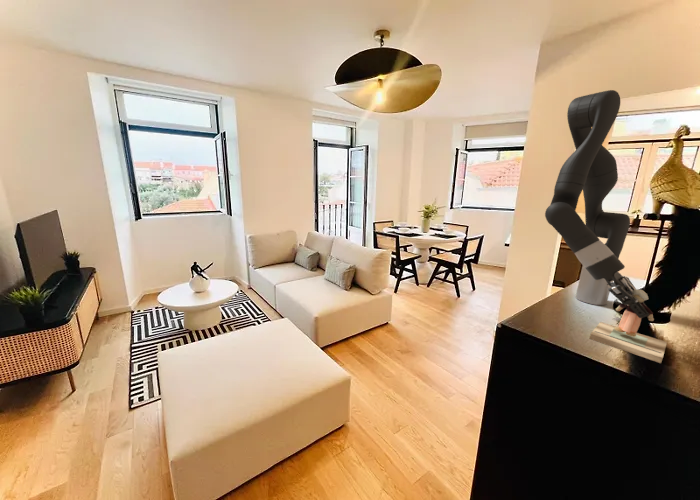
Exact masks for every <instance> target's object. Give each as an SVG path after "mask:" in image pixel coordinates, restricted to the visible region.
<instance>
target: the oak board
mask: <svg viewBox="0 0 700 500" xmlns="http://www.w3.org/2000/svg"><path fill="white" fill-rule="evenodd" d="M616 327H617V326H615V325H612V324H608V323H606V322H602V321H600V322H599V323H598V324H597V326H596V327H595V328H594V329H593V330H592V332H591V333H590V335H589V340H593V341H595V342H598V343H601V344H605V345H606V346H609V347H613V348H616V349H618V350H621V351H624V352H626V353H630V354H633V355H636V356H639V357H641V358H645V359H646V360H650V361H653V362H656V363H659V364H662V361H663V358H664V354H665V351H666V347H667V344H668V342H667V341H665V340H661V339H658V338H655V337H652V336H649V335H645V334H641V333H639V332H637V333H635V334H636V336H635V337H633V336H630V335H627V334H626V332H619V331H616V330H614V328H616Z"/></svg>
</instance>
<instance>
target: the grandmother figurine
mask: <svg viewBox="0 0 700 500" xmlns="http://www.w3.org/2000/svg"><path fill="white" fill-rule="evenodd" d="M633 291H634V293H633V295H634V296H635V297H636V299H638V301H639V302H640V304H641V305H642V306H643V307H644V308H645V309H646V310H647V312H648V313H649V316H647V319H648V321H650V322H654V320H655V318H654V315H653V314H654V312H653V311H652V310H651V309H650V308H649V307H648V306H647V305H646V304H645V301H647V300H649V296H648V293H646V292H645V291H644V290H643V289H638V288H636V290H633ZM642 302H644V304H645V305H646V306H645V305H644V304H642ZM624 308H626V309H625V310H624V312H623V314H622V316H621V319H620V321H619V323H618V326H616V328H614V330H616V331H619V332H626V334H627V335H630V336H633V337H635V336H636V334H635V333H638V330H639V328H640V326H641V322H642V318H639V317H638V316H637V315H636V313H635V312H634V311H633V310H632V309H631V308H630V306H627V305H624V304H623V303H622V302H620V304H619V305H618V306H617V307H616V308H615V311H616V312H620V311H621V310H623V309H624Z"/></svg>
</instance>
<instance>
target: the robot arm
mask: <svg viewBox="0 0 700 500" xmlns="http://www.w3.org/2000/svg"><path fill="white" fill-rule="evenodd" d="M620 107H621V97H620V94H619V92H618V91H617V90H612V89H610V90H605V91H599V92H595V93H591V94H590V93H589V94H586V95H581V96H578V97H575V98H574V99H572V100H571V102H570V103H569V104H568V107H567V112H566V113H567V114H566V116H567V124H568V128H569V131H570V135H571V137H572V141H573V144H574V148H575V150H574V152H572V153H571V155H570V156H569V157H568V158H567V159H566V160H565V162H564V163H563V164H562V166H561V168H560V170H559V173H558V175H557V179H556V182H555V184H554V189H553V196H552V199H551V201H550V205H549V206H548V207H547V208H546V209H545V213H544V217H545V219H546V222H547V223H548V224H549V226H551V227H553V228H554V230H556V232H557V233H558V234H559V235H560V237H562V239H563V241H564V242H565V244H566V245H567V247H568V248H569V249H570V250H571V252H572V253H573V254H574V255H575V256H576V259H577V260H578V261H579V263H581V265H582V267H581V272H580V274H579V280H578V285H577V289H576V292H575V293H576V294H575V299H577V300H579V301H580V302H584V303H586V304H590V305H595V306H596V305H597V306H606V305H607V304H608V300H609V296H610V294H612V295H613V296H614V298H616V299H617V300H619V301H620V303H623V304H624V305H627V306H630V308H631V309H632V310H633V311H634V312H635V313H636V315H637V316H638V317H639V318H641V319H644V318H646V317H647V318H648V316H649V313H648V312H647V310H646V309H645V308H644V307H643V306H642V305H641V304H640V302H639V301H638V299H636V297H635V296H634V295H633V293H634V291H633V290H636V289H637V288H636V287H635V286H634V284H633V282H631V280H630V278H629V277H628V276H625V275H622V274H621V273H620V271H622V270H624V269H625V268H626V267H625V264H623V262H622V261H621V260H620V259H619V257H620V255H621V252H623V251H622V250H623V248H624V244H625V241H626V239H627V236H628V232H629V229H630V225H631V219H630V216H629V215H628V214H627V213H619V212H610V211H609V212H608V211H604V209H603V201H604V200H605V199H606V197H607V196H608V194H610V193H611V192H612V190H614V189H613V188H614V187H616V184H617V182H618V181H619V179H618V178H619V177H618V174H619V173H618V165H617V161H616V158H615V156H614V155H613V154H612V153H611V152H610V151H609V150H608V149H607V148H606V147H605V146H604V145H603V144H604V143H605V140H606V138H607V136H608V134H609V132H610V130H611V129H612V126H613V125H614V124H615V123H614V122H615V121H616V120H617V119H616V118H617V117H618V114H619V111H620ZM582 193H583V194H582ZM581 194H582V195H583V200H584V213H585V214H584V215H585V217H584V218H585V222H584V221H583V219H582V217H581V216H580V215H579V214H578V212H577V211H576V209H577V206H578V203H579V198H580V196H581ZM600 238H601V239H606V242H602V241H601V240H600ZM642 304H644V305H645V306H647V305H646V303H645V301H644V302H642Z"/></svg>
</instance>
